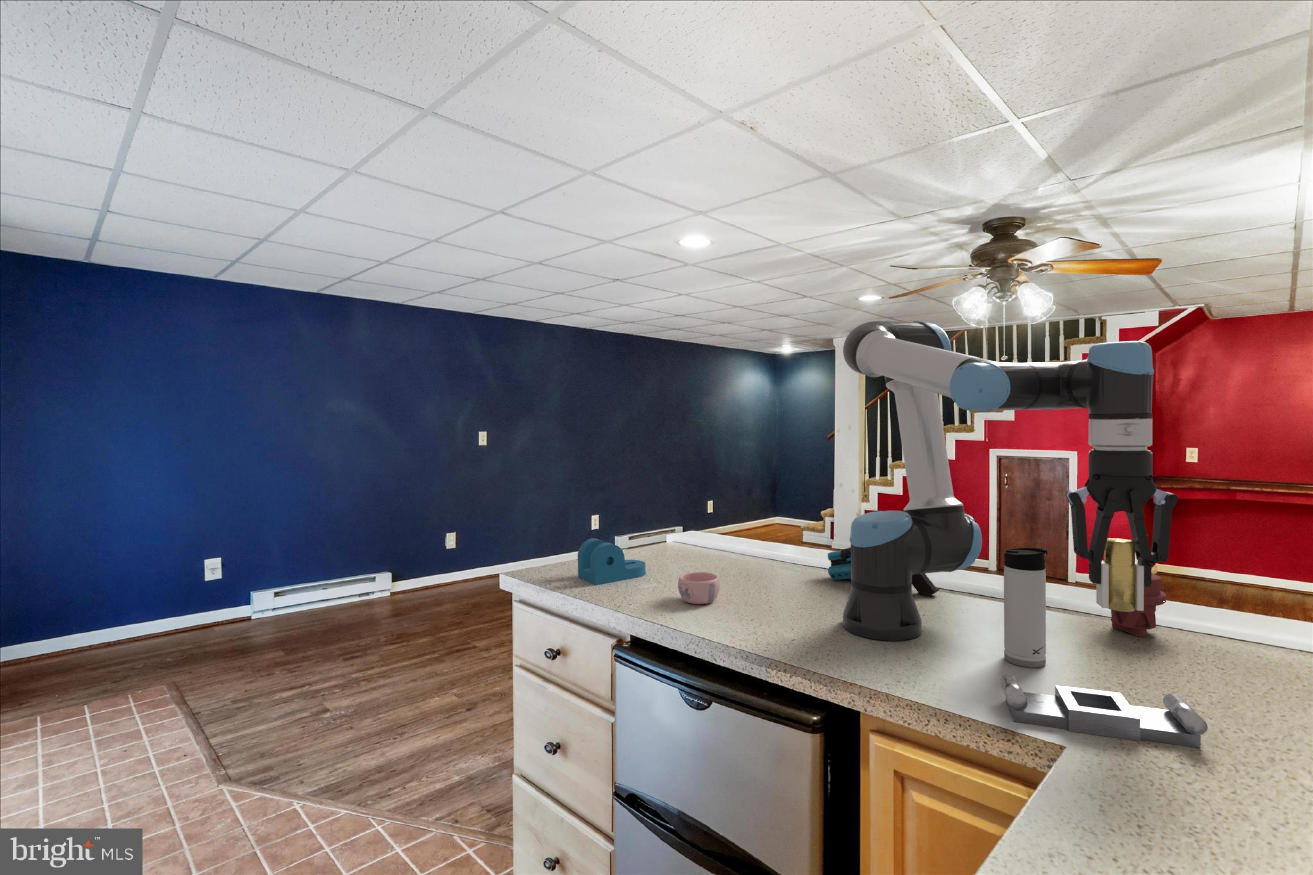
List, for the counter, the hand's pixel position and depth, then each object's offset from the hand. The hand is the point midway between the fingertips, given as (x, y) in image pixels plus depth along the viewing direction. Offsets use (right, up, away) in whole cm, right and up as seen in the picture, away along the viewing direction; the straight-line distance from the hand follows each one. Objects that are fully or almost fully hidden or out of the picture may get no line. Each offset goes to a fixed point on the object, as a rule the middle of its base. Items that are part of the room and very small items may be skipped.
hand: (1119, 606), depth 91 cm
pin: (0, 0, 0) cm, 0 cm away
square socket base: (-7, -15, -5) cm, 17 cm away
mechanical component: (+25, -13, +30) cm, 41 cm away
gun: (-12, -13, +65) cm, 68 cm away
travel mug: (-4, -14, +17) cm, 22 cm away
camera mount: (-80, -14, +81) cm, 115 cm away
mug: (-59, -14, +57) cm, 83 cm away
